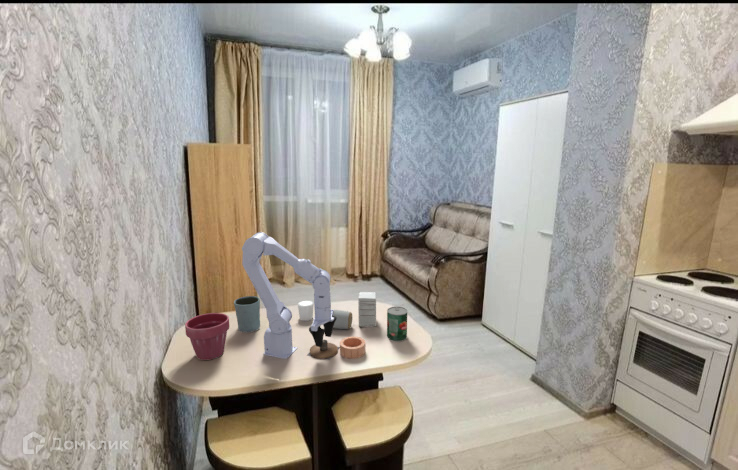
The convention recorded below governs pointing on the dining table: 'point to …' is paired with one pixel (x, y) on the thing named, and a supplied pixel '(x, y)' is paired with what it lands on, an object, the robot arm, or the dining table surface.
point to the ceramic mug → (342, 319)
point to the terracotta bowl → (352, 347)
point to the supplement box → (367, 309)
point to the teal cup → (248, 313)
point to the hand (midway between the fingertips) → (323, 341)
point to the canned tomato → (397, 324)
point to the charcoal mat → (324, 358)
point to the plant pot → (208, 334)
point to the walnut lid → (324, 350)
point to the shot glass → (305, 310)
